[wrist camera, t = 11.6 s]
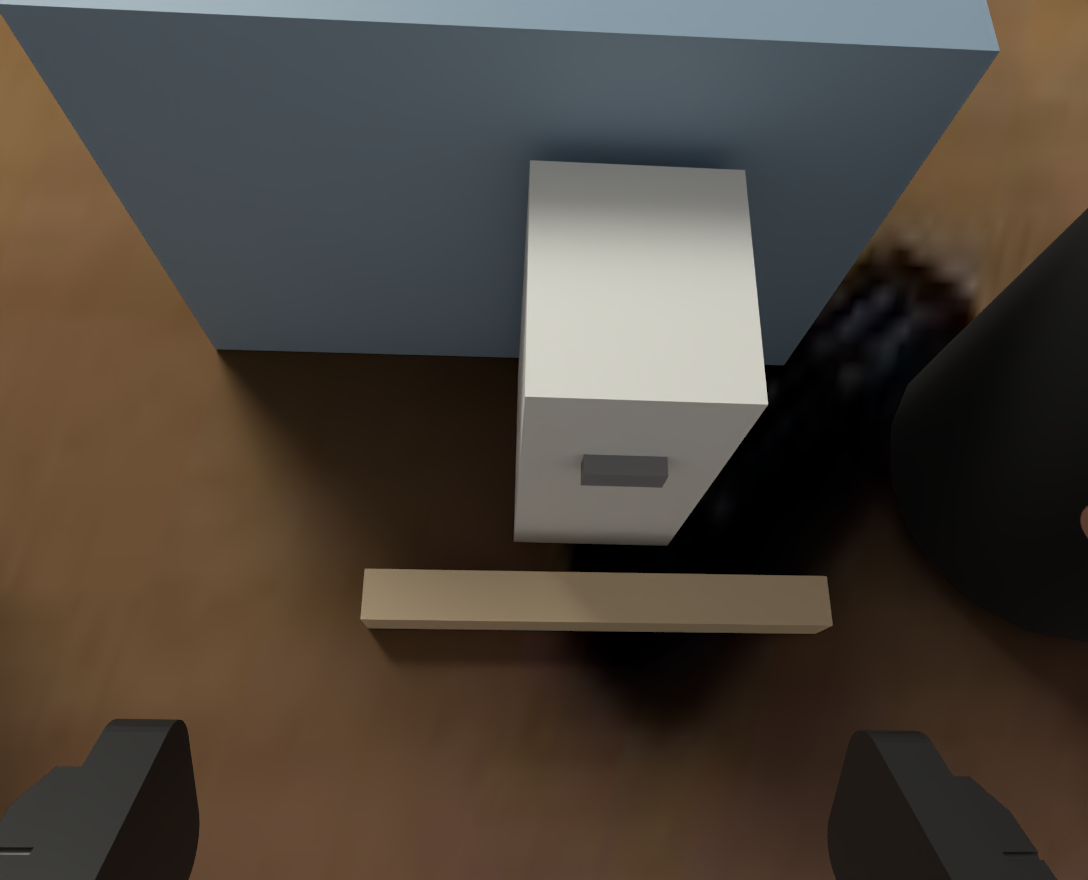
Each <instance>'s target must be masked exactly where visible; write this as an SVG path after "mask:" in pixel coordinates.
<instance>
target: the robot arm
mask: <svg viewBox="0 0 1088 880" xmlns="http://www.w3.org/2000/svg"><path fill="white" fill-rule="evenodd" d="M198 837H199V810H198V803H197V795H196V788H195V780H194V773H193V766H192V758H191V751H190V744H189V736H188V730H187V727H186V725H185V723H184V722H183V721H182V720H159V719H115V720H113V721H111V722H110V723H109V724H108V725H107V726H106V727H105V729H104V730H103V732H102V734H101V735H100V737H99V739H98V740H97V742H96V744H95V745H94V747H93V749H92V750H91V752H90V754H89V755H88V757H87V759H86V760H85V762H84V764H83V765H82V767H55V768H54V769H53V770H51V771H50V772H49V773H48V774H47V775H45V776H44V777H43V778H42V779H41V780H40V781H38V782H37V783H36V784H35V785H34V786H32V787H31V788H30V789H29V790H28V791H26V792H25V793H24V794H23V795H22V796H21V797H19V798H18V799H17V800H16V801H15V802H13V803H12V805H11V806H10V808H9V809H8V811H7V812H6V814H5V815H4V817H3V818H2V820H1V821H0V880H188V879H189V877H190V874H191V871H192V867H193V864H194V860H195V856H196V851H197V845H198ZM828 849H829V856H830V861H831V865H832V869H833V872H834V875H835V878H836V880H1057V879H1056V878H1055V876H1054V875H1053V873H1052V872H1051V870H1050V869H1049V867H1048V866H1047V865H1046V863H1045V862H1044V860H1039V858H1038V851H1037V850H1036V849H1035V847H1034V846H1033V844H1032V843H1031V841H1030V840H1029V838H1028V837H1027V836H1026V834H1025V833H1024V831H1023V830H1022V828H1021V827H1020V825H1019V824H1018V823H1017V821H1016V820H1015V818H1014V817H1013V815H1012V814H1011V812H1010V811H1009V810H1008V809H1006V808H1005V807H1004V806H1003V805H1002V804H1001V803H999V802H998V801H997V800H996V799H995V798H994V797H992V796H991V795H990V794H989V793H988V792H987V791H985V790H984V789H983V788H982V787H981V786H980V785H978V784H977V783H976V782H975V781H974V780H973V779H971V778H970V777H957V776H953V775H952V773H951V772H950V770H949V769H948V767H947V766H946V764H945V762H944V761H943V759H942V758H941V756H940V755H939V753H938V752H937V750H936V749H935V747H934V745H933V744H932V742H931V741H930V740H929V738H928V737H927V736H926V735H925V734H923V733H921V732H919V731H872V730H860V731H857V732H855V733H854V734H853V736H852V738H851V740H850V743H849V746H848V750H847V753H846V757H845V761H844V765H843V768H842V772H841V776H840V780H839V783H838V787H837V791H836V795H835V798H834V802H833V806H832V810H831V813H830V817H829V822H828Z"/></svg>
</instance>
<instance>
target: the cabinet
mask: <svg viewBox="0 0 1088 880" xmlns="http://www.w3.org/2000/svg"><path fill="white" fill-rule="evenodd" d="M767 406H768V398H767V388H766V378H765V368H764V358H763V347H762V337H761V327H760V317H759V307H758V297H757V287H756V277H755V266H754V256H753V246H752V236H751V226H750V216H749V206H748V196H747V186H746V175H745V170H732V169H710V168H689V167H667V166H645V165H623V164H601V163H579V162H557V161H535V160H530V171H529V189H528V207H527V225H526V242H525V260H524V278H523V296H522V314H521V332H520V349H519V367H518V397H517V436H516V476H515V515H514V542H539V543H579V544H619V545H659V546H667V545H668V544H669V543H670V541H671V540H672V538H673V537H674V536H675V534H676V533H677V531H678V530H679V529H680V527H681V526H682V524H683V523H684V522H685V520H686V519H687V517H688V516H689V515H690V513H691V512H692V510H693V509H694V508H695V506H696V505H697V503H698V502H699V501H700V499H701V498H702V496H703V495H704V494H705V492H706V491H707V489H708V488H709V487H710V485H711V484H712V482H713V481H714V480H715V478H716V477H717V475H718V474H719V473H720V471H721V470H722V468H723V467H724V466H725V464H726V463H727V461H728V460H729V459H730V457H731V456H732V454H733V453H734V452H735V450H736V449H737V447H738V446H739V445H740V443H741V442H742V440H743V439H744V438H745V436H746V435H747V433H748V432H749V431H750V429H751V428H752V427H753V425H754V424H755V422H756V421H757V420H758V418H759V417H760V415H761V414H762V413H763V411H764V410H765V408H766V407H767Z"/></svg>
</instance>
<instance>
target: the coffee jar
mask: <svg viewBox="0 0 1088 880" xmlns="http://www.w3.org/2000/svg"><path fill="white" fill-rule="evenodd" d="M890 477H891V480H892V483H893V487H894V490H895V493H896V497H897V500H898V503H899V507H900V510H901V513H902V517H903V520H904V522H905V524H906V525H907V527H908V528H909V530H910V531H911V533H912V535H913V536H914V538H915V539H916V541H917V542H918V544H919V545H920V547H921V548H922V550H923V551H924V553H925V555H926V556H927V558H928V559H929V561H930V562H931V564H932V565H933V566H934V567H935V568H936V569H937V570H938V571H939V572H940V573H941V574H942V575H944V576H945V577H946V578H947V579H948V580H949V581H950V582H951V583H952V584H954V585H955V586H956V587H957V588H958V589H959V590H960V591H961V592H962V593H964V594H965V595H966V596H967V597H968V598H969V599H970V600H971V601H972V602H974V603H975V604H977V605H979V606H981V607H983V608H985V609H987V610H989V611H991V612H993V613H995V614H997V615H999V616H1001V617H1003V618H1005V619H1007V620H1008V621H1010V622H1012V623H1014V624H1016V625H1018V626H1020V627H1022V628H1024V629H1027V630H1030V631H1034V632H1039V633H1044V634H1049V635H1054V636H1060V637H1065V638H1070V639H1075V640H1080V641H1088V208H1087V209H1086V210H1085V211H1084V212H1083V213H1082V214H1081V215H1080V216H1079V217H1078V218H1077V219H1076V220H1075V221H1074V222H1073V223H1072V224H1071V225H1070V226H1069V227H1068V228H1067V229H1066V230H1065V231H1064V232H1063V233H1062V234H1061V235H1060V236H1059V237H1058V238H1057V239H1056V240H1055V241H1054V242H1053V243H1052V244H1051V245H1049V246H1048V247H1047V248H1046V249H1045V250H1044V251H1043V252H1042V253H1041V254H1040V255H1039V256H1038V257H1037V258H1036V259H1035V260H1034V261H1033V262H1032V263H1031V264H1030V265H1029V266H1028V267H1027V268H1026V269H1025V270H1024V271H1023V272H1022V273H1021V274H1020V275H1019V276H1018V277H1017V278H1016V279H1015V280H1014V281H1013V282H1012V283H1011V284H1009V285H1008V286H1007V287H1006V288H1005V289H1004V290H1003V291H1002V292H1001V293H1000V294H999V295H998V296H997V297H996V298H995V299H994V300H993V301H992V302H991V303H990V304H989V305H988V306H987V307H986V308H985V309H984V310H983V311H982V312H981V313H980V314H979V315H978V316H977V317H976V318H975V319H974V320H973V321H972V322H971V323H969V324H968V325H967V326H966V327H965V328H964V329H963V330H962V331H961V332H960V333H959V334H958V335H957V336H956V337H955V338H954V339H953V340H952V341H951V342H950V343H949V344H948V345H947V346H946V347H945V348H944V349H943V350H942V351H941V352H940V353H939V354H938V355H937V356H936V357H935V358H934V359H933V360H932V361H931V362H930V363H929V364H928V365H927V366H926V367H925V368H924V369H923V370H922V371H921V372H920V373H919V374H918V375H917V376H916V377H915V378H914V379H913V380H912V381H911V382H910V383H909V384H908V385H907V388H906V390H905V393H904V395H903V398H902V400H901V402H900V405H899V407H898V410H897V412H896V415H895V417H894V419H893V422H892V426H891V451H890Z"/></svg>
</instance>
